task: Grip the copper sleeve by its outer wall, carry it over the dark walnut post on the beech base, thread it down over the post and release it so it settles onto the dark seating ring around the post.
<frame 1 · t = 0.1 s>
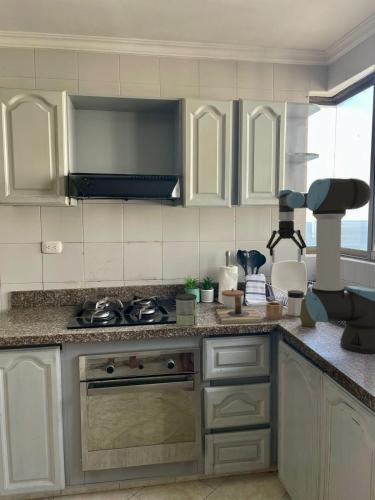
hand: (286, 262, 186), 28 cm above the worktop, tool pointing down, fingers open, 13 cm apart
squeeze bottle: (308, 325, 169), on the worktop
copper sleeve: (274, 317, 184), on the worktop
post stand: (238, 317, 185), on the worktop
jar: (295, 314, 189), on the worktop
lidded bowl: (232, 308, 206), on the worktop
coffee can: (186, 324, 174), on the worktop
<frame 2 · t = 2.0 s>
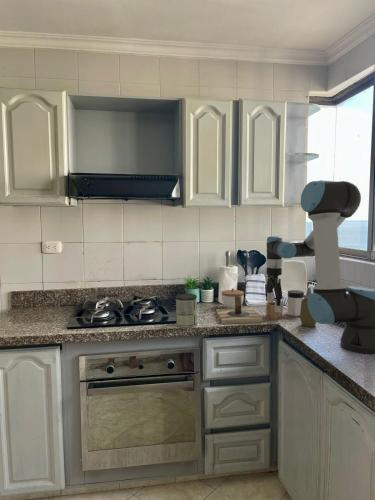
hand: (273, 308, 184), 5 cm above the worktop, tool pointing down, fingers open, 13 cm apart
nothing on the worktop moved.
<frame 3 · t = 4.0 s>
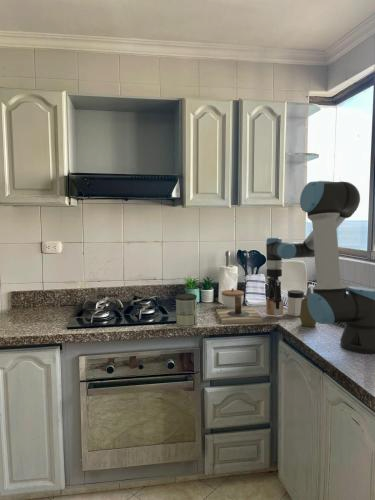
hand: (274, 312, 183), 2 cm above the worktop, tool pointing down, fingers closed on copper sleeve, 8 cm apart
copper sleeve: (274, 313, 183), point 2 cm above the worktop, touching gripper
everything else where it was.
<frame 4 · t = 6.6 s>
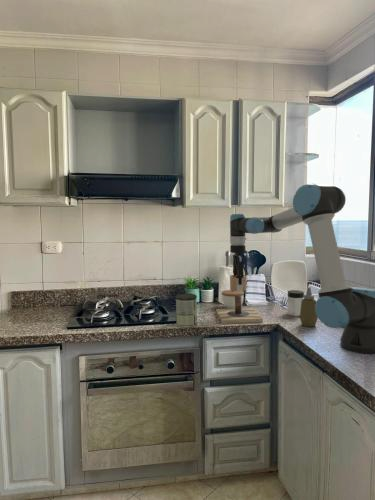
hand: (238, 289, 183), 15 cm above the worktop, tool pointing down, fingers closed on copper sleeve, 8 cm apart
copper sleeve: (238, 289, 183), point 15 cm above the worktop, touching gripper
everything else where it was.
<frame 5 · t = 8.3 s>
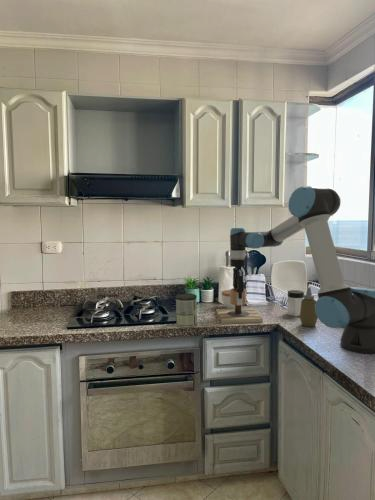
hand: (238, 302, 184), 8 cm above the worktop, tool pointing down, fingers closed on copper sleeve, 8 cm apart
copper sleeve: (238, 303, 184), point 7 cm above the worktop, touching gripper
everything else where it was.
when the fingers open (4 cm above the worktop, at t = 9.4 s): copper sleeve drops 2 cm, resting on post stand.
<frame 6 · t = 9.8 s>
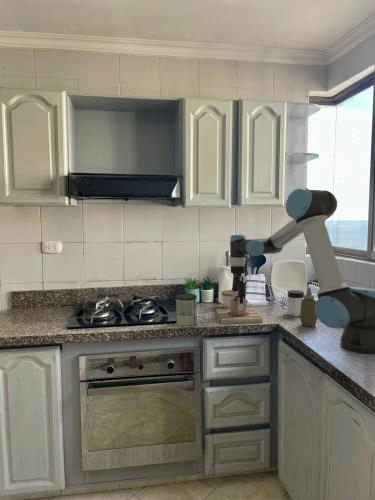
hand: (238, 306, 184), 6 cm above the worktop, tool pointing down, fingers open, 13 cm apart
copper sleeve: (238, 313, 184), point 2 cm above the worktop, touching post stand
everything else where it was.
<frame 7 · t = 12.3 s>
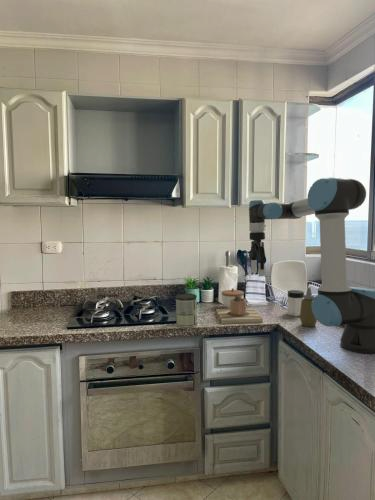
hand: (257, 274, 180), 23 cm above the worktop, tool pointing down, fingers open, 13 cm apart
nothing on the worktop moved.
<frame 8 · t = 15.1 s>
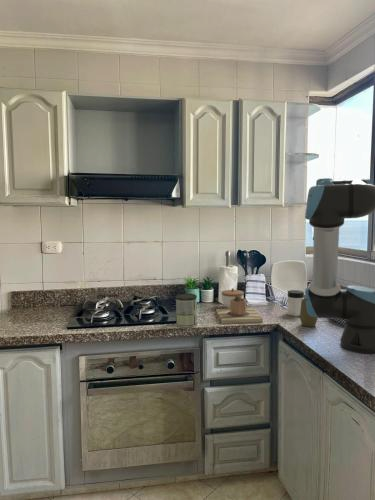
hand: (323, 256, 172), 32 cm above the worktop, tool pointing down, fingers open, 13 cm apart
nothing on the worktop moved.
at the end: copper sleeve 0.1 cm from the post stand (horizontally); copper sleeve point 2.2 cm above the worktop; copper sleeve tilted 0° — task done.
